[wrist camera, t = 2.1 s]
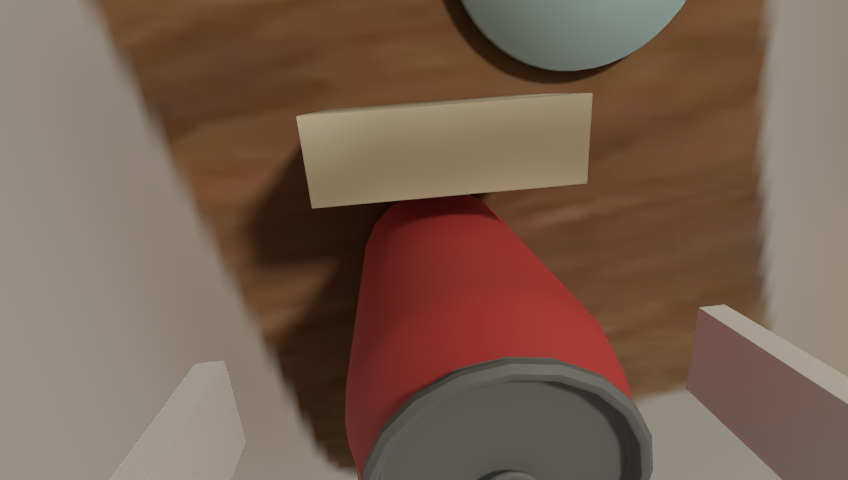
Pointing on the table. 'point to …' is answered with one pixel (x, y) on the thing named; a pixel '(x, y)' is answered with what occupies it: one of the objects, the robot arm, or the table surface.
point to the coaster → (570, 29)
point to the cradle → (445, 148)
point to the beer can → (480, 360)
